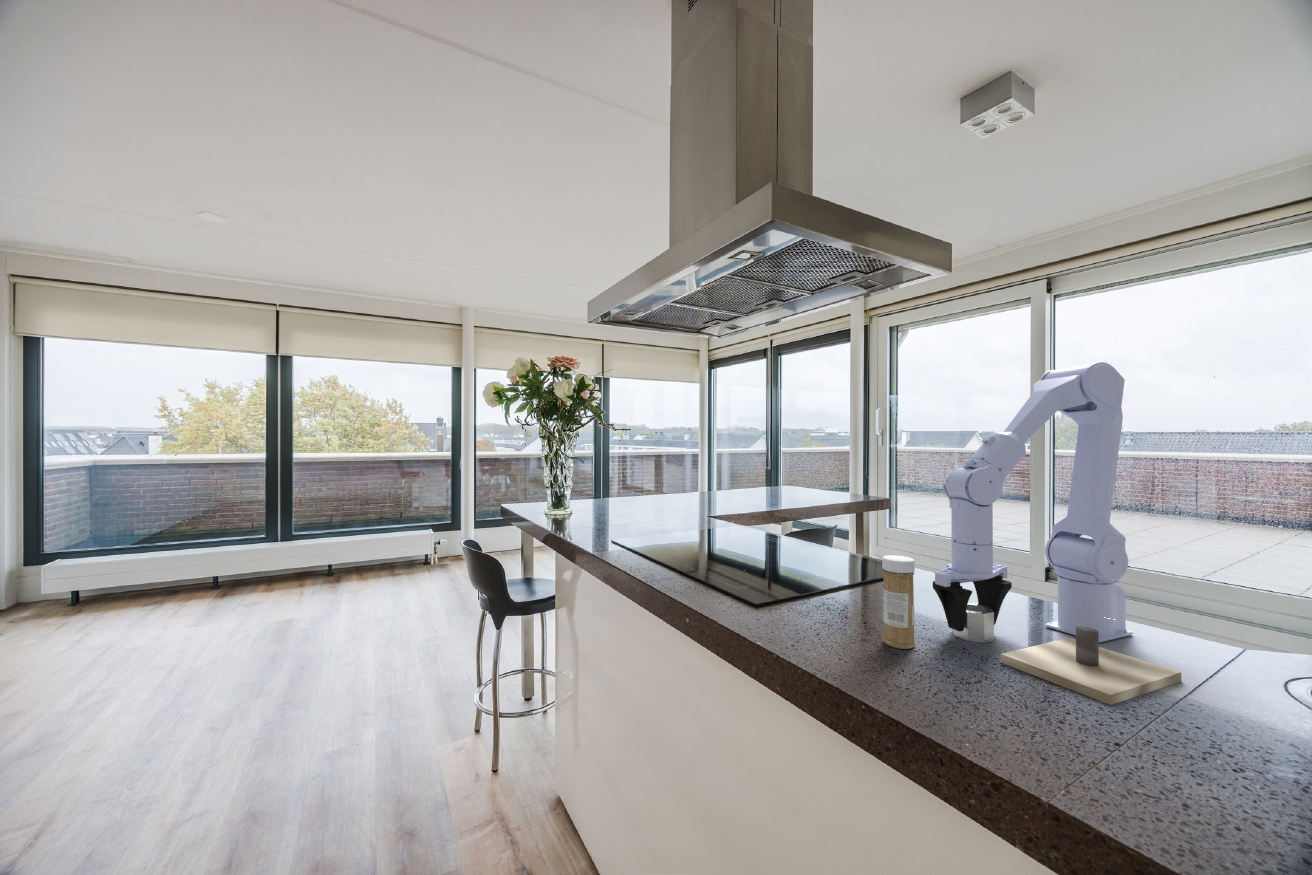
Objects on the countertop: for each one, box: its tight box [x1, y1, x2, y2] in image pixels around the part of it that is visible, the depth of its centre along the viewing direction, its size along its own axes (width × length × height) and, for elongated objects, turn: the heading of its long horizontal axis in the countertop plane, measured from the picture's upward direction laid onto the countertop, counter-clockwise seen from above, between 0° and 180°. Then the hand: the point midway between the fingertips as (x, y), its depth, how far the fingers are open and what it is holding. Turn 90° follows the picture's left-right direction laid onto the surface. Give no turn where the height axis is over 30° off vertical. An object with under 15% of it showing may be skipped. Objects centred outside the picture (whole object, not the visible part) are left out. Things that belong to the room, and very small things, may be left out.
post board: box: [1000, 626, 1182, 706], centre depth 70 cm, size 16×13×6 cm
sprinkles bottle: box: [881, 554, 916, 650], centre depth 80 cm, size 5×5×13 cm
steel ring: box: [951, 602, 995, 644], centre depth 83 cm, size 6×6×4 cm
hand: (972, 625), depth 83 cm, fingers open, 7 cm apart
